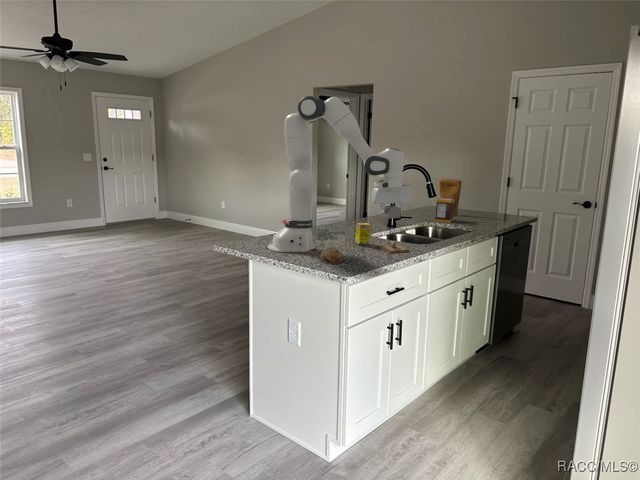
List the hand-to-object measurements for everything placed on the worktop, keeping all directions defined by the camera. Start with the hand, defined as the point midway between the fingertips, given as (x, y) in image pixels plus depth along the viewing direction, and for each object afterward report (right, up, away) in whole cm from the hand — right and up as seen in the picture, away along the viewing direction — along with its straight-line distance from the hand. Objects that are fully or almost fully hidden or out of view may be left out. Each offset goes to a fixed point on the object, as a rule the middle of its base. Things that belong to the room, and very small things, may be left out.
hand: (391, 212), depth 218 cm
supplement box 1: (-12, -15, +22) cm, 29 cm away
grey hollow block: (0, -2, 0) cm, 2 cm away
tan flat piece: (+3, -18, +11) cm, 21 cm away
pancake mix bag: (+67, +7, +146) cm, 161 cm away
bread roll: (-29, -23, -16) cm, 40 cm away
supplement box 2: (+56, +1, +114) cm, 127 cm away
